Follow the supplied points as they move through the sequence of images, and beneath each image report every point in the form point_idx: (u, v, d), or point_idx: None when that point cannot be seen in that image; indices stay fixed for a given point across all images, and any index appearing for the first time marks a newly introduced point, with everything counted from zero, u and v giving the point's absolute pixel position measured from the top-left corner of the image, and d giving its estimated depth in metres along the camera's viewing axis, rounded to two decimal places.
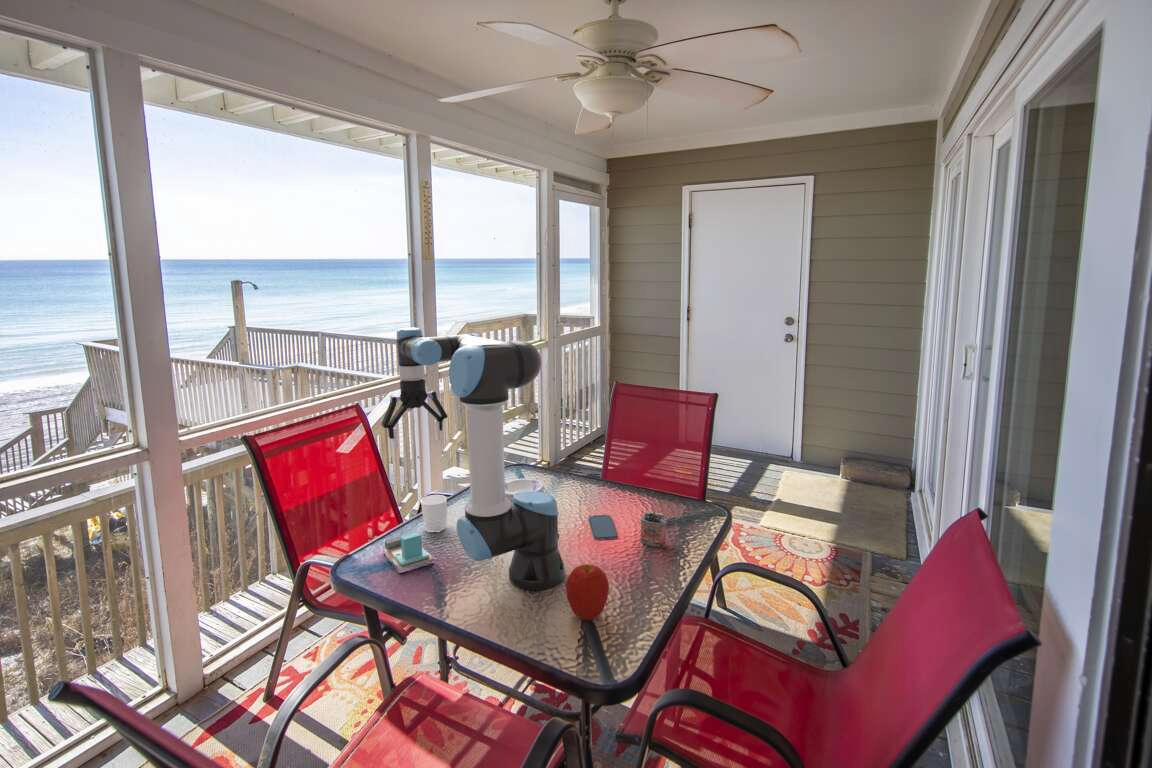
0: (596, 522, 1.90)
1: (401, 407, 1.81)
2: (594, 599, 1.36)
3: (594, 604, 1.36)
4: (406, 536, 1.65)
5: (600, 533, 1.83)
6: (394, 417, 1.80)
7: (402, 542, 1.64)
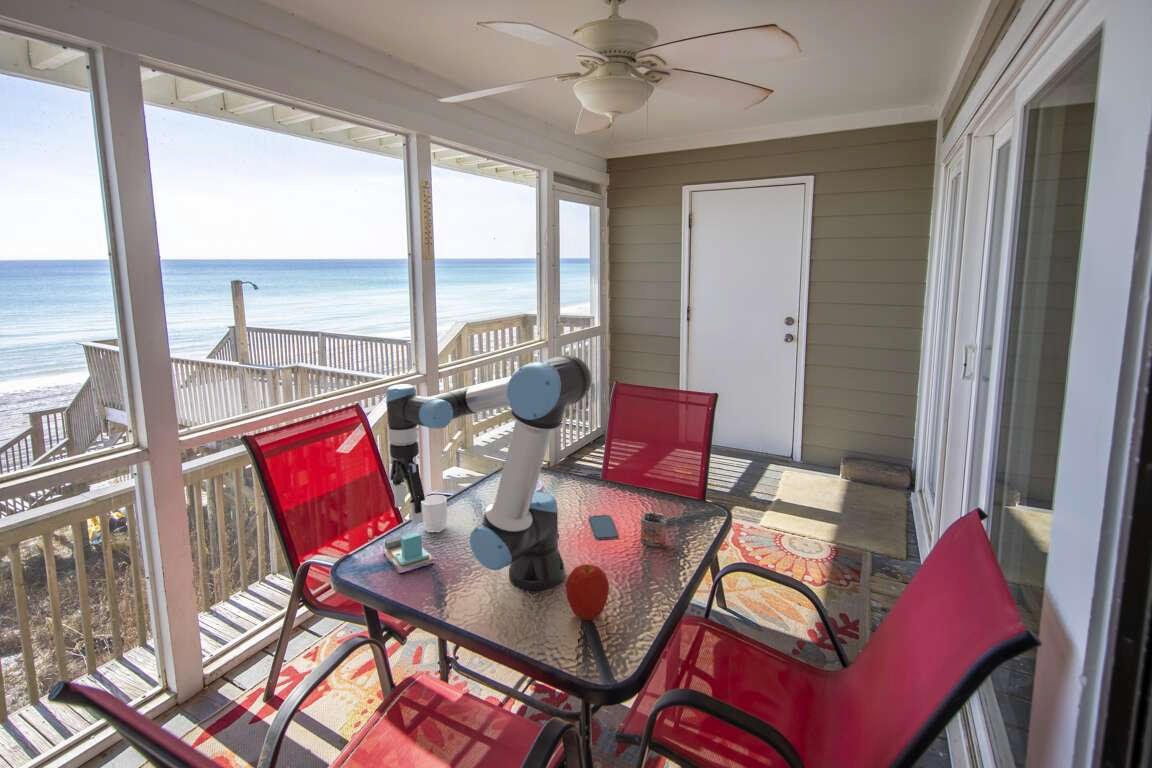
0: (596, 522, 1.90)
1: None
2: (594, 599, 1.36)
3: (594, 604, 1.36)
4: (406, 536, 1.65)
5: (601, 533, 1.83)
6: None
7: (402, 542, 1.64)
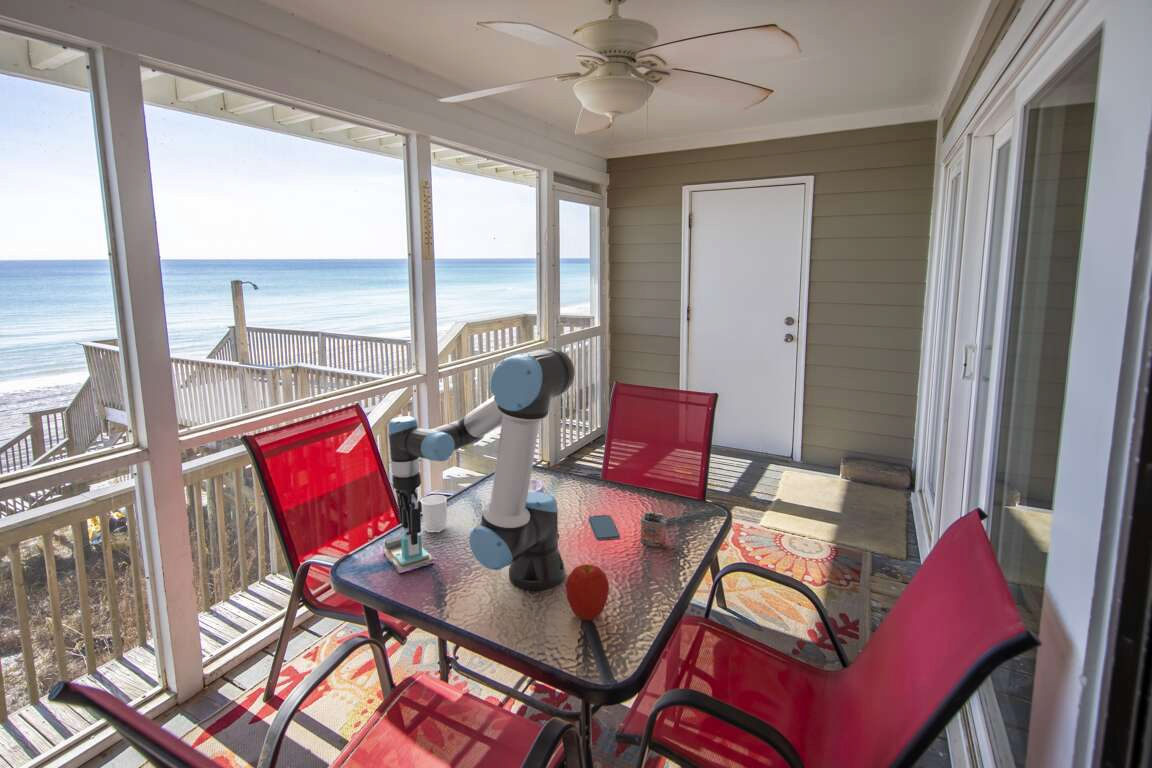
0: (597, 522, 1.90)
1: None
2: (594, 599, 1.36)
3: (594, 604, 1.36)
4: (406, 536, 1.65)
5: (602, 533, 1.83)
6: None
7: (402, 542, 1.64)
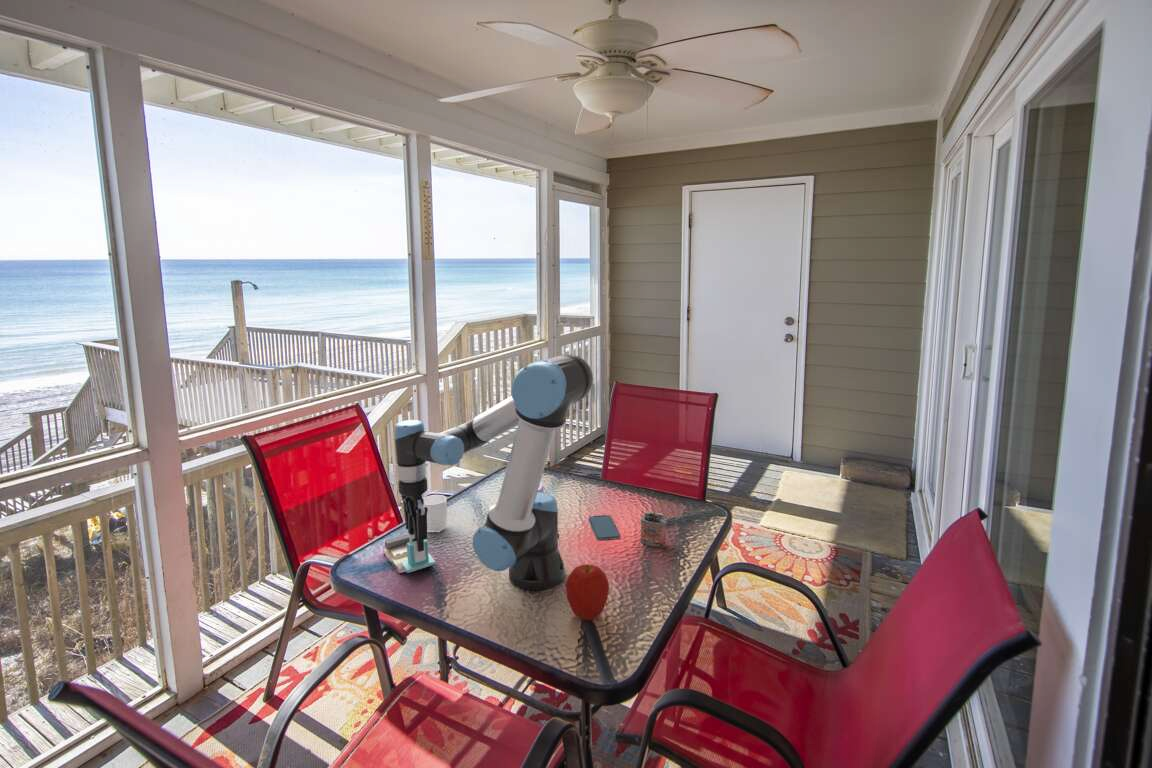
0: (597, 522, 1.90)
1: None
2: (594, 599, 1.36)
3: (594, 604, 1.36)
4: (412, 542, 1.61)
5: (602, 533, 1.83)
6: None
7: (408, 549, 1.60)
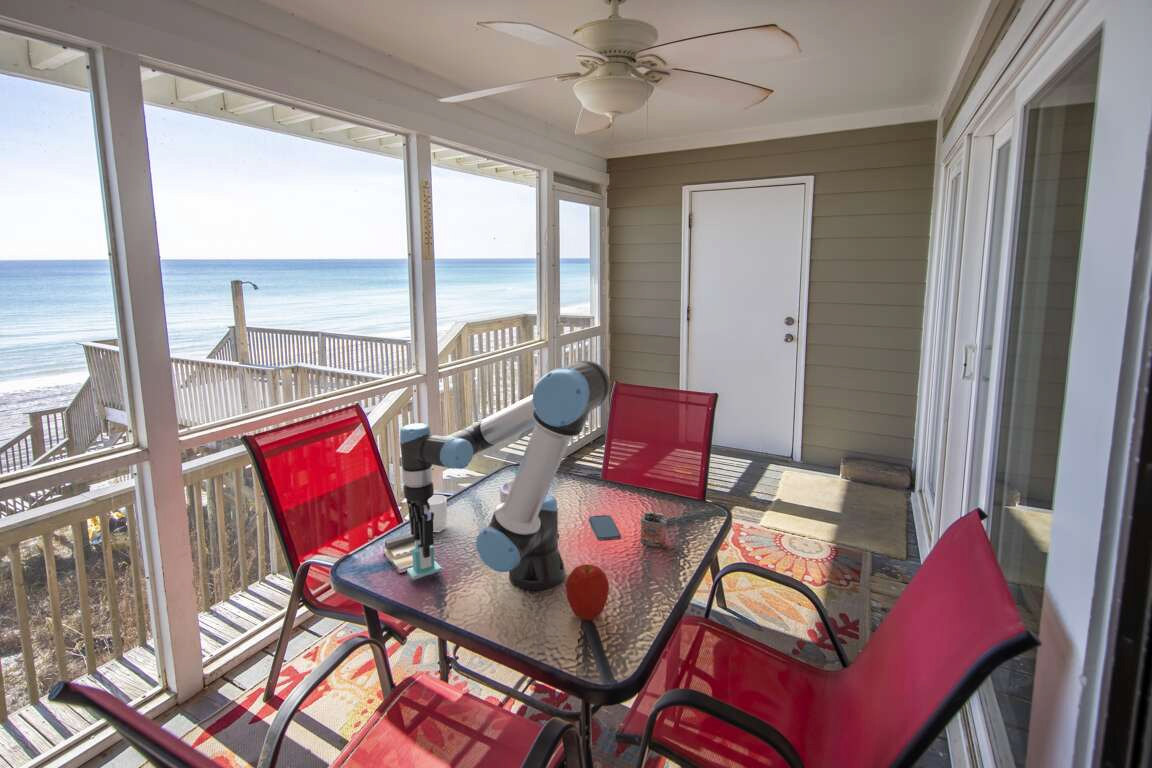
0: (597, 522, 1.90)
1: None
2: (594, 599, 1.36)
3: (594, 604, 1.36)
4: (418, 548, 1.58)
5: (603, 533, 1.83)
6: None
7: (414, 555, 1.57)
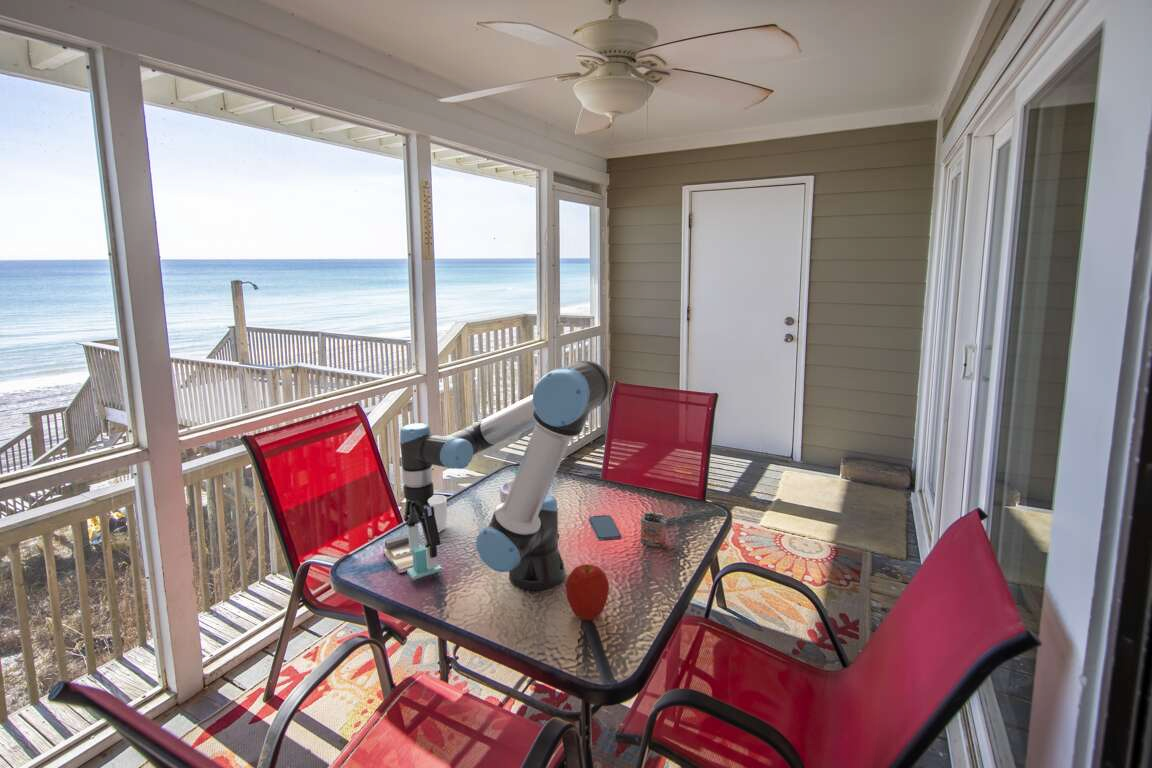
0: (597, 522, 1.90)
1: None
2: (594, 598, 1.36)
3: (594, 604, 1.36)
4: (418, 548, 1.58)
5: (603, 533, 1.83)
6: None
7: (414, 555, 1.57)
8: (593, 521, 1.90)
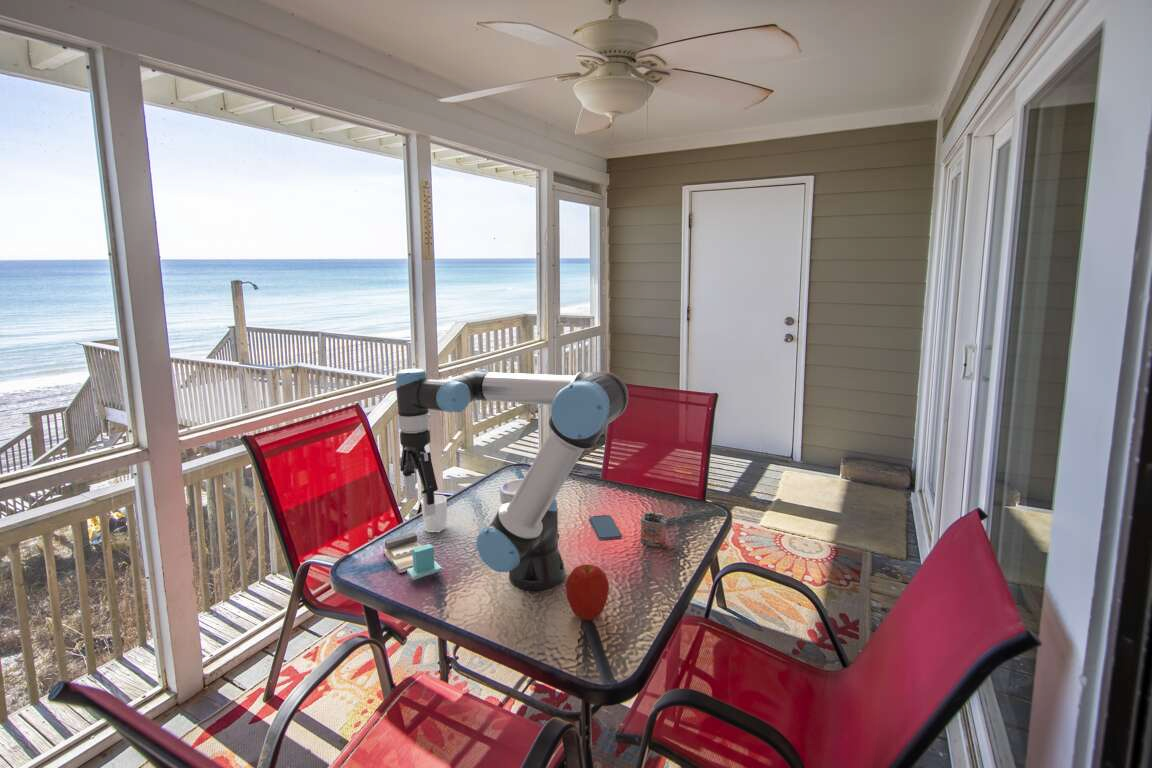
0: (598, 522, 1.89)
1: None
2: (594, 598, 1.36)
3: (594, 604, 1.36)
4: (418, 548, 1.58)
5: (604, 533, 1.83)
6: None
7: (414, 555, 1.57)
8: (593, 521, 1.90)
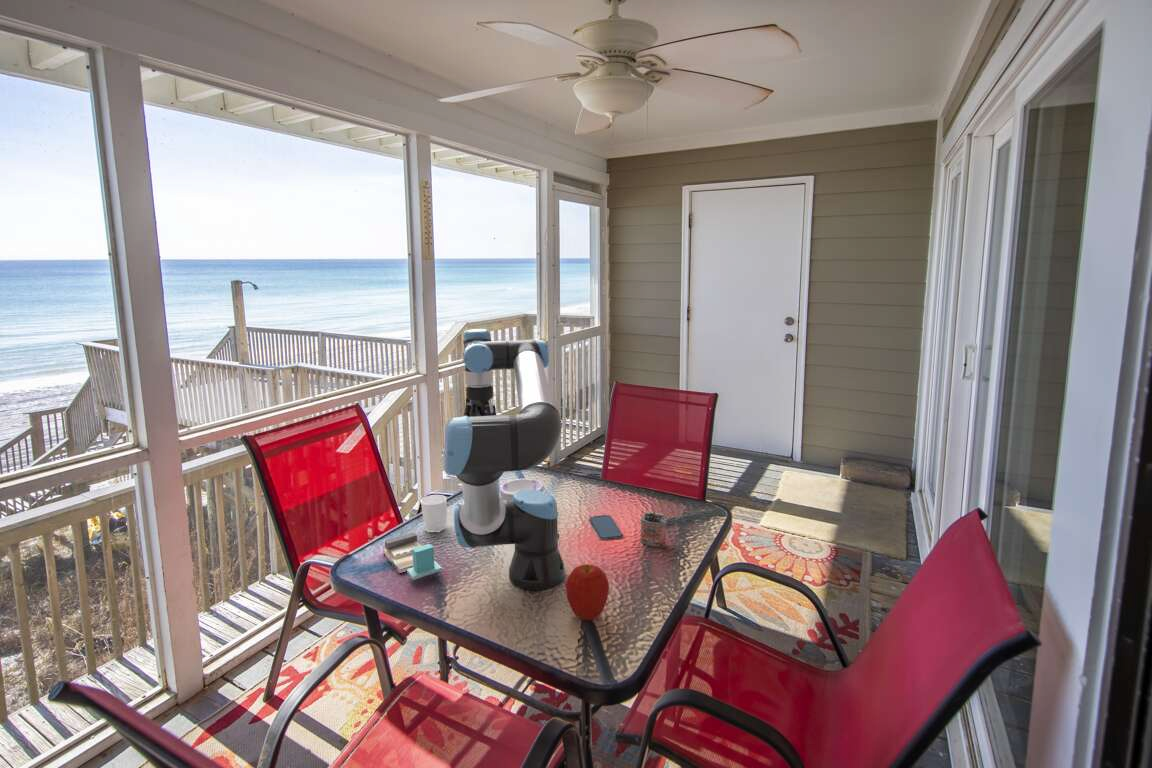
0: (598, 522, 1.89)
1: None
2: (594, 599, 1.36)
3: (594, 604, 1.36)
4: (418, 548, 1.58)
5: (605, 533, 1.83)
6: None
7: (414, 555, 1.57)
8: (594, 521, 1.90)
